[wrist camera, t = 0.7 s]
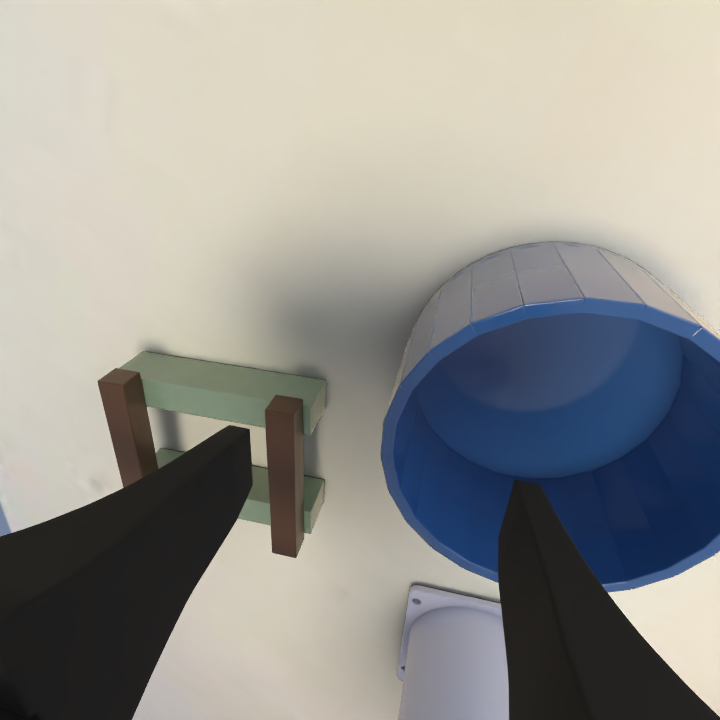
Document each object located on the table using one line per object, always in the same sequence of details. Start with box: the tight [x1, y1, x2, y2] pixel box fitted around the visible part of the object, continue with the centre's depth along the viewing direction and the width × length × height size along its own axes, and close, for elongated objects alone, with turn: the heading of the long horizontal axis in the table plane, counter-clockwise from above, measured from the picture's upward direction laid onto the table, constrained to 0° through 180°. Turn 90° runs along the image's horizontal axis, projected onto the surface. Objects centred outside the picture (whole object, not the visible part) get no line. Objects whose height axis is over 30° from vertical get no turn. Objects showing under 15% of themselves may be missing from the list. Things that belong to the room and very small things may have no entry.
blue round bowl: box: [381, 242, 720, 592], centre depth 18 cm, size 12×12×6 cm
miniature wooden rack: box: [119, 351, 326, 534], centre depth 25 cm, size 8×10×2 cm
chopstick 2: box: [265, 395, 304, 558], centre depth 23 cm, size 9×1×1 cm, turn 177°
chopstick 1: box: [98, 368, 159, 488], centre depth 24 cm, size 9×1×1 cm, turn 177°
